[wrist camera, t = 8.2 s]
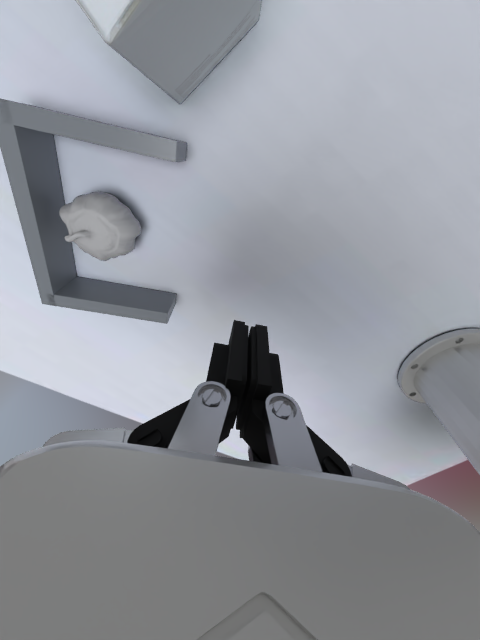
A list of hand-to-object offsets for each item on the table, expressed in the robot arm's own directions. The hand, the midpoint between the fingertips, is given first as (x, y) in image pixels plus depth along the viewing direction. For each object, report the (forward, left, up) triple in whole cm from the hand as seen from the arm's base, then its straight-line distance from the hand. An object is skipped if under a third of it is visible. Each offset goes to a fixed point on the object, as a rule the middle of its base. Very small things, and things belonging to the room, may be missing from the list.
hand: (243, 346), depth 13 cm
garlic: (+12, -1, -15) cm, 19 cm away
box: (+11, 0, -14) cm, 18 cm away
